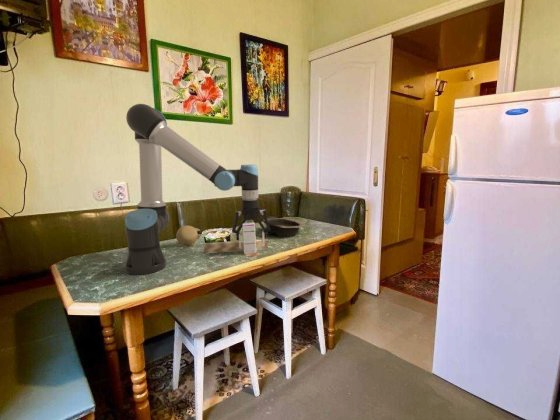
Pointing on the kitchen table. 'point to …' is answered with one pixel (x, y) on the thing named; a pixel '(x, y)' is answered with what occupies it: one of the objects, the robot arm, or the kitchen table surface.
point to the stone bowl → (283, 226)
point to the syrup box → (249, 237)
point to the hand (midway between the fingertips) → (251, 246)
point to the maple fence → (231, 247)
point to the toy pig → (188, 235)
